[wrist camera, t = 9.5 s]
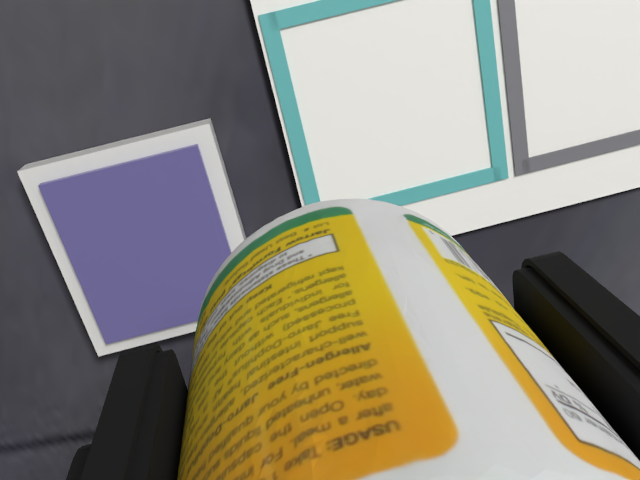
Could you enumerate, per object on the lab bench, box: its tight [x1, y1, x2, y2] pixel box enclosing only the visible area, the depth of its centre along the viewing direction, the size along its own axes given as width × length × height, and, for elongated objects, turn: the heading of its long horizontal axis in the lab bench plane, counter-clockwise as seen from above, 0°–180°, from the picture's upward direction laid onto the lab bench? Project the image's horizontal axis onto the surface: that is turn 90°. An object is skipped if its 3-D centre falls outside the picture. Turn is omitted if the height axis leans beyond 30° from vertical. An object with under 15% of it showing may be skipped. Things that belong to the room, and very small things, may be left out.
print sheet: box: [250, 0, 640, 236], centre depth 23 cm, size 12×17×1 cm
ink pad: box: [17, 118, 246, 356], centre depth 24 cm, size 8×7×1 cm
